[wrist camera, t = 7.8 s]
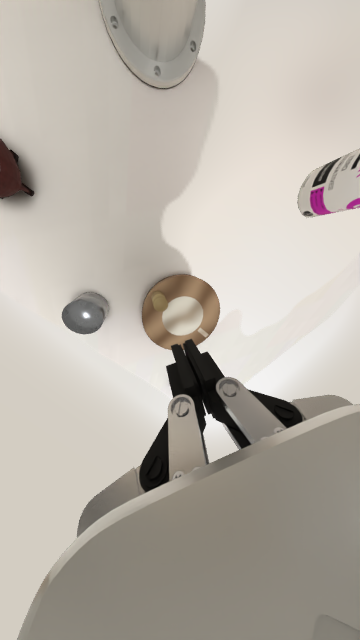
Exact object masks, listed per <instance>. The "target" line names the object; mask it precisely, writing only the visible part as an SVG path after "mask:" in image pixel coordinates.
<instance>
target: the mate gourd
mask: <svg viewBox="0 0 360 640" xmlns="http://www.w3.org/2000/svg"><path fill="white" fill-rule="evenodd" d="M18 158H19V157H18V155H17V154H16V153H15V152H13V151H12V150H9V149H8V148H7V146H6V145H5V144H4V142H3V141H2V140H1V139H0V198H2V199H3V198H4V197H9V196H12V195H13V194H15V193H17V192H18V191H20V190H22V191H24V192H25V193H27V194H28V195H30V196H33V195H34V191H32V190H31V189H30V188H28V187H27V186H26V185H24V184H23V183H22V181H21V174H20V170H19V168H18V166H17V161H18Z"/></svg>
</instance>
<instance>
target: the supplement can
mask: <svg viewBox="0 0 360 640" xmlns="http://www.w3.org/2000/svg"><path fill="white" fill-rule="evenodd" d="M298 208H299V210H300V212H301V213H302V215H304V216H305V217H315V216H320V215H325V214H330V213H335V212H339V211H345V210H350V209H355V208H360V149H358V150H355V151H353V152H351V153H349V154H347V155H345V156H343V157H340V158H338V159H336V160H334V161H332V162H330V163H328V164H326V165H323V166H321V167H319V168H317V169H315V170H313V171H312V172H311V173H310V174H309V175H308V176H307V178H306V179H305V181H304V183H303V184H302V186H301V188H300V191H299V195H298Z"/></svg>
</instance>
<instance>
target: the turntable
mask: <svg viewBox="0 0 360 640" xmlns="http://www.w3.org/2000/svg"><path fill="white" fill-rule="evenodd" d="M219 314H220V304H219V300H218V297H217V295H216V293H215V291H214V290H213V288H212V287H211V286H210V285H209V284H208V283H206V282H205V281H203V280H201V279H199V278H197V277H195V276H191V275H185V274H179V275H173V276H170V277H167V278H165V279H163V280H161V281H160V282H158V283H157V284H156V285H155V286H154V287H153V288H152V289H151V290H150V291H149V293H148V294H147V296H146V298H145V301H144V303H143V308H142V322H143V326H144V329H145V332H146V333H147V335H148V336H149V338H150V339H151V340H152V341H153V342H154V343H156V344H157V345H159V346H161V347H163V348H165V349H169V350H172V349H171V345H174V344H178V345H180V344H181V346H182V348H183V350H184V347H183V343H185V341H186V340H189V339H192V340H193V342H194V343H195V345H198V344H200V343H202V342H203V341H204V340H205V339H206V338H208V337H209V335H210V334H211V333H212V332H213V330H214V329H215V327H216V325H217V322H218V319H219Z"/></svg>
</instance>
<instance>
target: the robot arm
mask: <svg viewBox="0 0 360 640" xmlns="http://www.w3.org/2000/svg"><path fill="white" fill-rule="evenodd" d="M99 3H100V7H101V11H102V15H103V18H104V21H105V24H106V27H107V30H108V33H109V35H110V37H111V39H112V41H113V43H114V46H115V48H116V49H117V51H118V53H119V54H120V56H121V57H122V59H123V61H124V62H125V63H126V64H127V66H128V67H129V68H130V69H131V71H132V72H133V73H134V74H136V75H137V76H138V77H139V78H140V79H141V80H143V81H144V82H146V83H148V84H149V85H152V86H155V87H158V88H169V87H172V86H175V85H177V84H178V83H180V82H181V81H183V80H184V79H185V77H186V76H187V75H188V74H189V73H190V71H191V69H192V67H193V65H194V64H195V61H196V58H197V55H198V53H199V49H200V45H201V42H202V38H203V31H204V24H205V6H206V5H205V0H99ZM157 76H158V77H157ZM183 347H184V351H185V353H184V351H183V348H182V346H181V344H180V345H178V344H174V345H171V349H172V352H173V355H174V358H175V361H176V363H174V364H171V365H168V366H166V368H167V373H168V377H169V381H170V386H171V390H172V395H173V399H172V400H171V401H170V403H169V406H168V418H167V420H166V422H165V423H164V425H163V427H162V429H161V430H160V432H159V434H158V435H157V437H156V439H155V441H154V442H153V444H152V446H151V447H150V450H149V451H148V453H147V454H146V456H145V458H144V460H143V462H142V464H141V465H140V466H139V467H137V468H136V469H135V468H133V469H131V470H130V471H129V472H127V473H126V474H124V475H123V476H122V477H121V478H119V479H118V480H116V481H115V482H114V483H112V484H111V485H110V486H108V487H107V488H106V489H104V490H103V491H102V492H100V493H99V494H97V495H96V496H95V497H94V498H93V499H92V500H91V501H90V502H89V503H88V504H87V506H86V507H85V509H84V510H83V513H82V515H81V517H80V520H79V525H78V531H77V539H76V540H75V541H74V542H73V543H72V544H71V545H70V546H69V548H67V550H66V551H65V552H64V553H63V554H62V556H61V557H60V558H59V560H58V561H57V562H56V563H55V564H54V566H53V567H52V569H51V570H50V571H49V573H48V574H47V576H46V577H45V579H44V581H43V583H42V584H41V586H40V588H39V590H38V592H37V594H36V596H35V598H34V600H33V602H32V604H31V606H30V609H29V611H28V613H27V616H26V618H25V620H24V623H23V625H22V628H21V630H20V633H19V636H18V638H17V640H360V404H356V405H353V404H352V403H350V402H349V401H348V400H346V399H344V398H342V397H339V396H335V395H325V396H317V397H310V398H303V399H296V400H293V401H292V402H287V401H284V400H281V399H278V398H275V397H271V396H268V395H264V394H261V393H258V392H254V391H251V390H248V389H246V388H245V387H244V386H243V385H242V384H241V383H240V382H239V381H238V380H237V379H234V378H231V377H224V375H223V374H222V372H221V371H220V369H219V368H218V366H217V365H216V363H215V362H214V360H213V359H212V357H211V356H210V355H209V353H208V352H205V353H202V354H201V353H200V352H199V350H198V348H197V347H196V345H195V343H194V342H193V340H192V339H189V340H186V341H185V343H183ZM185 354H186V355H185ZM203 403H204V405H205V408H206V410H207V413H208V414H212V416H213V418H215V419H216V420H217V421H219V422H221V423H223V425H224V427H225V429H226V430H227V432H228V434H229V435H230V437H231V438H232V440H233V441H234V443H235V444H236V446H237V447H238V449H239V450H238V451H236V452H234V453H232V454H229V455H228V456H225V457H223V458H221V459H218V460H216V461H214V462H212V463H209V460H208V455H207V450H206V445H205V440H204V436H203V431H204V429H205V426H206V422H205V418H204V416H206V413H205V409H204V405H203Z"/></svg>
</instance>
